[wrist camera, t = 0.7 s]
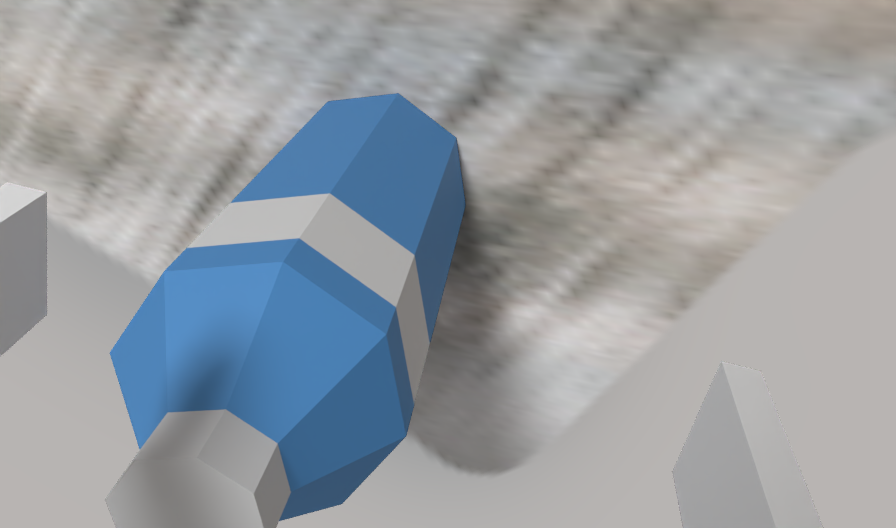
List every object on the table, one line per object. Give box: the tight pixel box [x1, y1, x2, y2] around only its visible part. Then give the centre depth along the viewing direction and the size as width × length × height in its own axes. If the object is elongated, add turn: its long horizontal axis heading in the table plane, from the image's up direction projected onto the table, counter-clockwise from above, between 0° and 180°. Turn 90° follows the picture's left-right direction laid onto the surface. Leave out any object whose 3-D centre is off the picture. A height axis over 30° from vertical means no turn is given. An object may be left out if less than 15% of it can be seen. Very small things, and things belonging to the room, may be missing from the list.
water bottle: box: [105, 93, 466, 528], centre depth 32 cm, size 9×9×25 cm
